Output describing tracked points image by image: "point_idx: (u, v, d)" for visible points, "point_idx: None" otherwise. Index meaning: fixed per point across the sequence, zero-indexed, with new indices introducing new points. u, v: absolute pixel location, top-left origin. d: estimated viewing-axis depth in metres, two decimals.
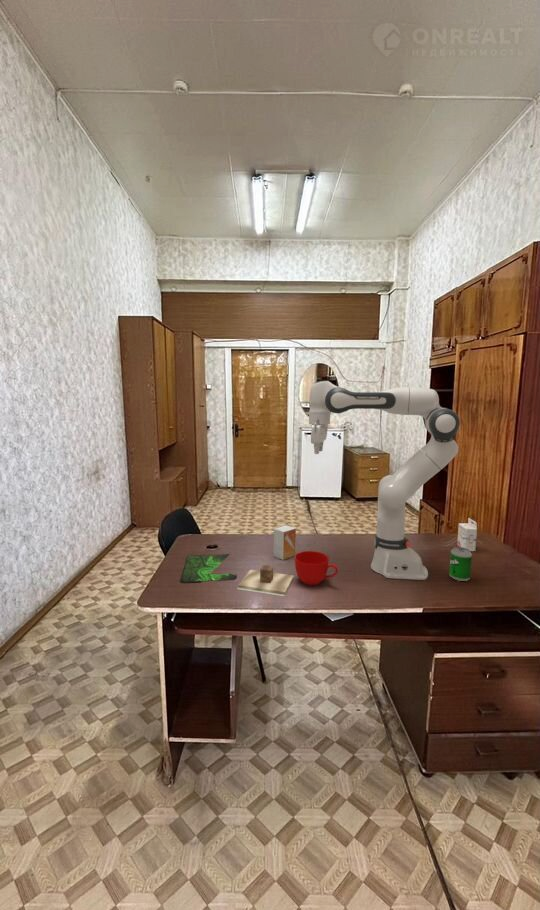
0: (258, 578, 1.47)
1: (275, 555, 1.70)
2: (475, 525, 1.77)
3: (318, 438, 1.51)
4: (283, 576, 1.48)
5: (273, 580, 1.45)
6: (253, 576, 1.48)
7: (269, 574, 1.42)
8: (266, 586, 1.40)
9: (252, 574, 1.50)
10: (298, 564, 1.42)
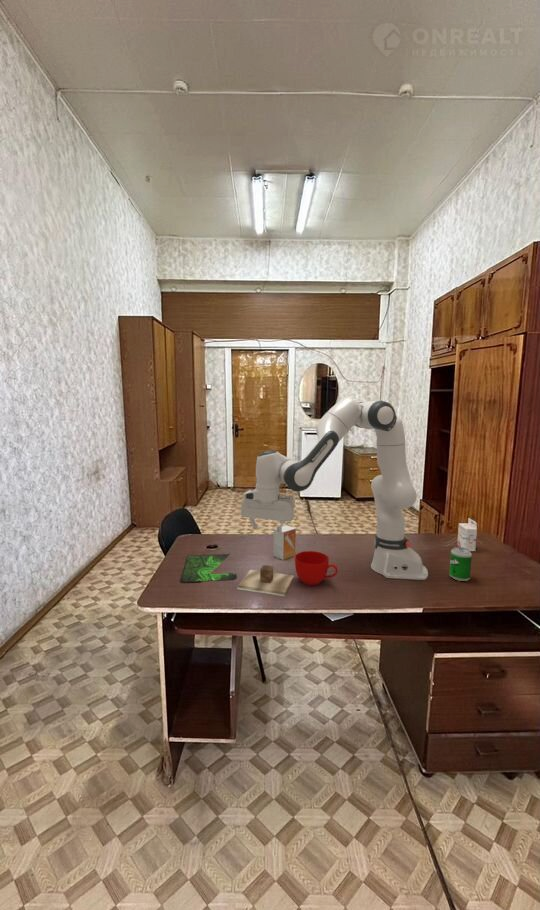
0: (258, 578, 1.47)
1: (275, 555, 1.70)
2: (475, 525, 1.77)
3: (293, 513, 1.40)
4: (283, 576, 1.48)
5: (273, 580, 1.45)
6: (253, 576, 1.48)
7: (269, 574, 1.42)
8: (266, 586, 1.40)
9: (252, 574, 1.50)
10: (298, 564, 1.42)
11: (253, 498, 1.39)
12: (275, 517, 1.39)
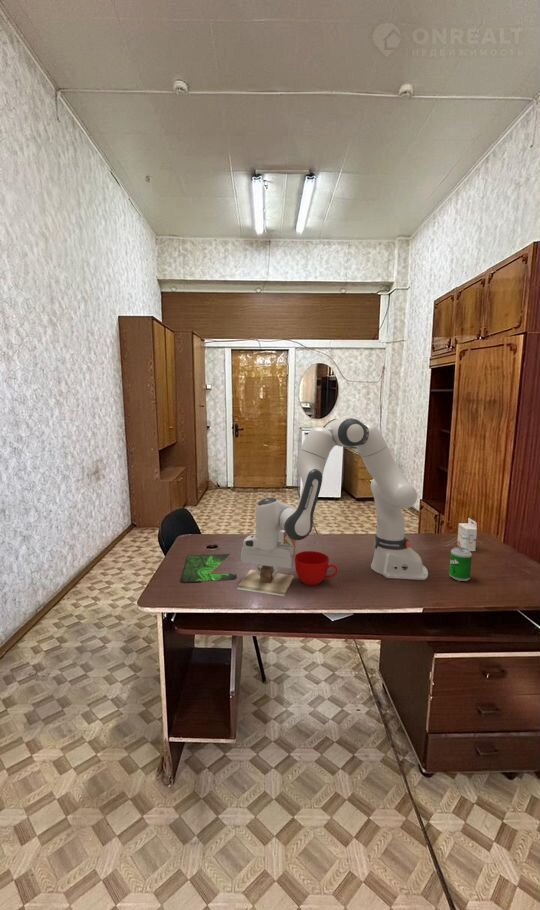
0: (259, 578, 1.47)
1: None
2: (475, 525, 1.77)
3: None
4: (283, 576, 1.48)
5: (273, 580, 1.45)
6: (253, 576, 1.48)
7: (269, 574, 1.42)
8: (266, 586, 1.40)
9: (252, 574, 1.50)
10: (298, 564, 1.42)
11: (253, 545, 1.41)
12: (274, 564, 1.41)
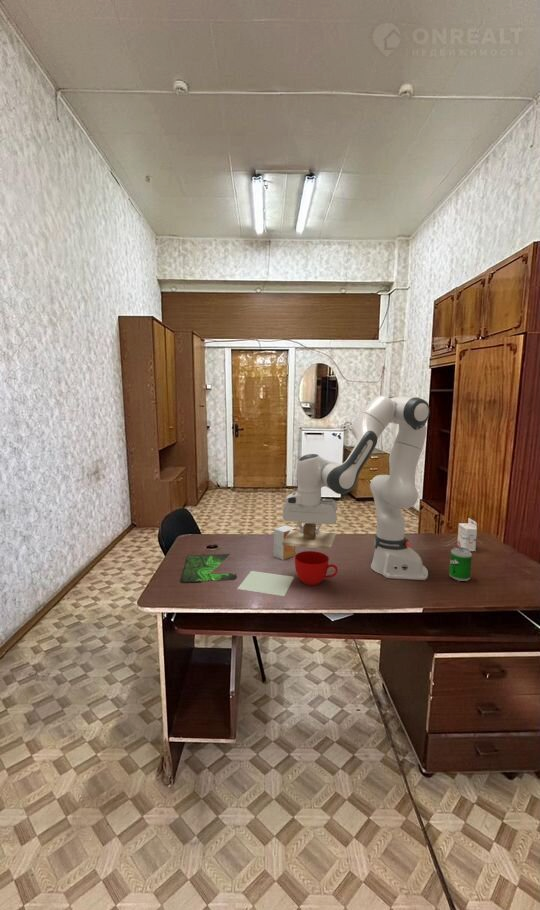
0: (301, 536, 1.45)
1: (275, 555, 1.70)
2: (475, 525, 1.77)
3: (336, 516, 1.41)
4: (325, 534, 1.47)
5: (316, 537, 1.44)
6: (295, 535, 1.47)
7: (313, 531, 1.41)
8: (310, 542, 1.39)
9: (294, 533, 1.49)
10: (298, 564, 1.42)
11: (296, 502, 1.40)
12: (318, 520, 1.40)
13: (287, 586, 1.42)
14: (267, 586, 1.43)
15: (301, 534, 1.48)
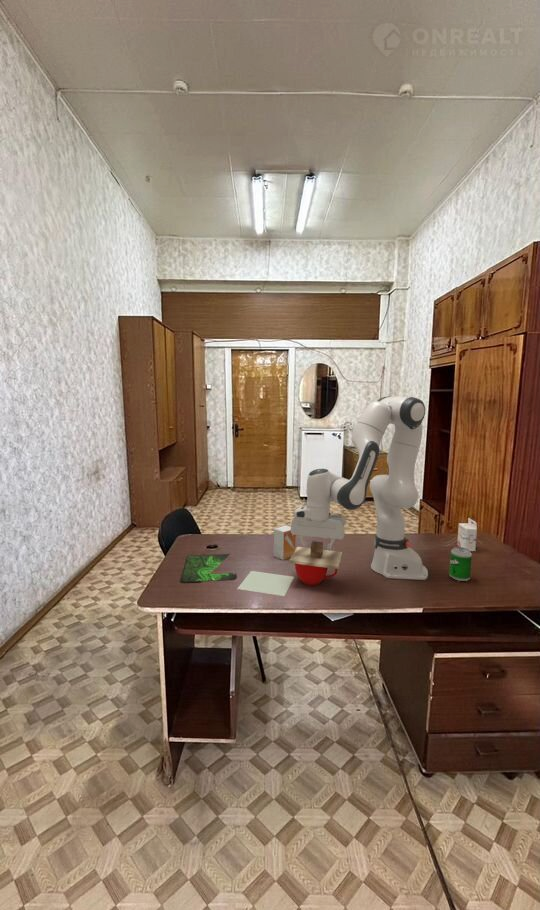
0: (308, 554, 1.46)
1: (275, 555, 1.70)
2: (475, 525, 1.77)
3: (344, 531, 1.42)
4: (332, 552, 1.48)
5: (323, 556, 1.44)
6: (302, 552, 1.47)
7: (320, 549, 1.42)
8: (317, 561, 1.40)
9: (300, 551, 1.49)
10: (298, 564, 1.42)
11: (304, 516, 1.40)
12: (326, 535, 1.41)
13: (287, 586, 1.42)
14: (267, 586, 1.43)
15: (308, 552, 1.48)
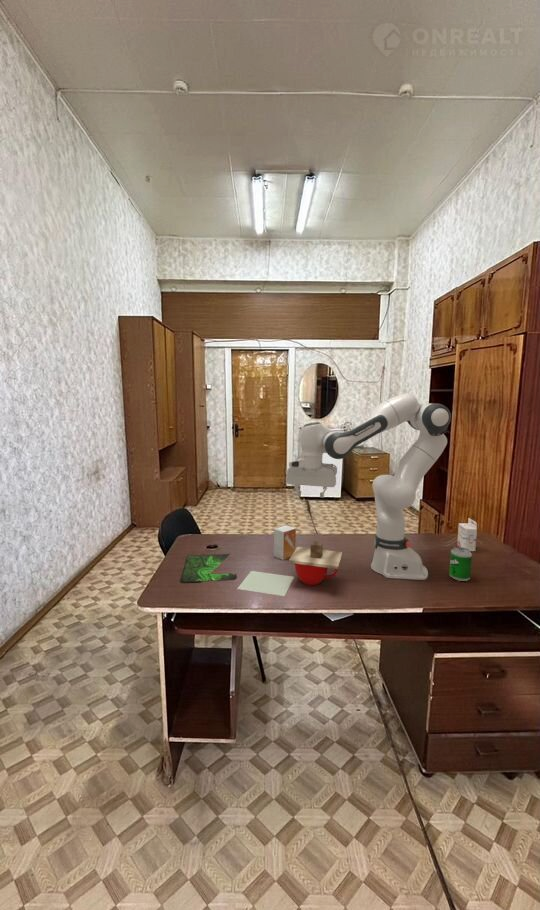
0: (308, 554, 1.46)
1: (275, 555, 1.70)
2: (475, 525, 1.77)
3: None
4: (332, 552, 1.48)
5: (323, 556, 1.44)
6: (302, 552, 1.47)
7: (320, 549, 1.42)
8: (317, 561, 1.40)
9: (300, 550, 1.49)
10: (298, 564, 1.42)
11: (299, 466, 1.51)
12: (319, 483, 1.51)
13: (287, 586, 1.42)
14: (267, 586, 1.43)
15: (308, 552, 1.48)
